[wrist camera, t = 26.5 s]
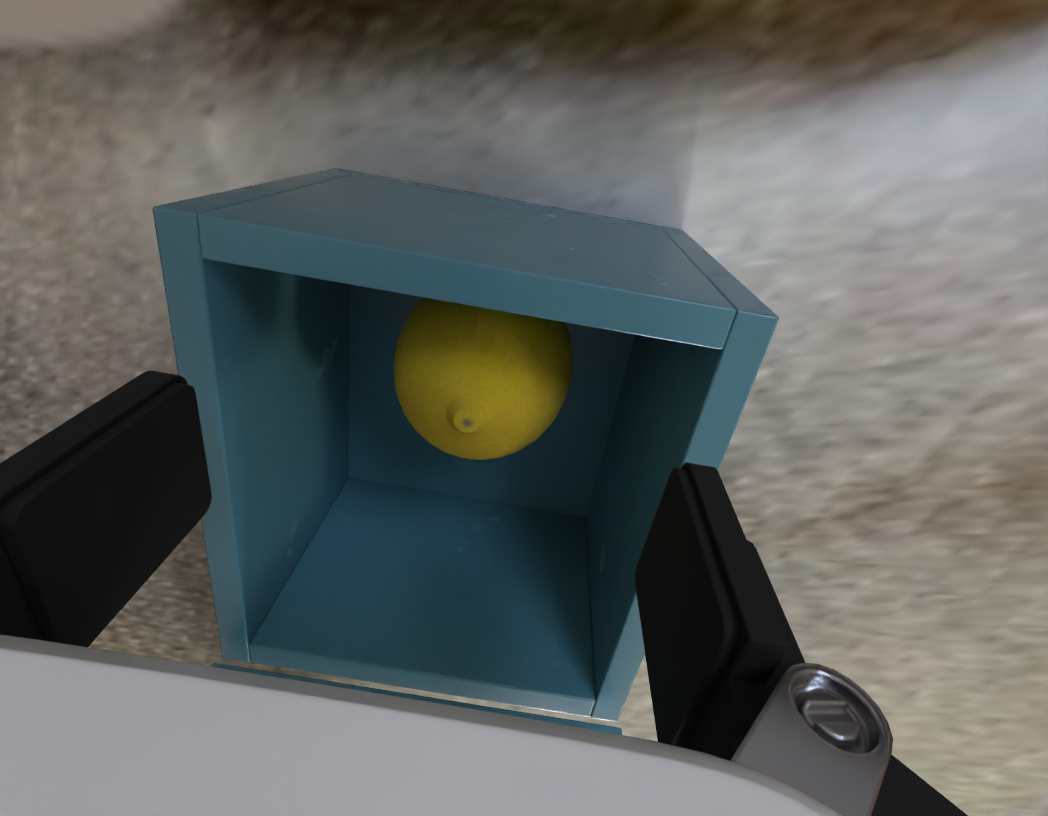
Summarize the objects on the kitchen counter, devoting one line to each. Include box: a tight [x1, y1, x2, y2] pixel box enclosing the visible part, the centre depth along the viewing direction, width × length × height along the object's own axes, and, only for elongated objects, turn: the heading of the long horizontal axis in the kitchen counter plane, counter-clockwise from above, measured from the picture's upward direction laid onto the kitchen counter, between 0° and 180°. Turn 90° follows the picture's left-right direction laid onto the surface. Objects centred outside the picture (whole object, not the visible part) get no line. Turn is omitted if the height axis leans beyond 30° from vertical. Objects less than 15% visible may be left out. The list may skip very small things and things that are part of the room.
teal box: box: [153, 168, 779, 721], centre depth 19 cm, size 14×13×10 cm
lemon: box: [394, 297, 573, 460], centre depth 17 cm, size 6×6×8 cm
